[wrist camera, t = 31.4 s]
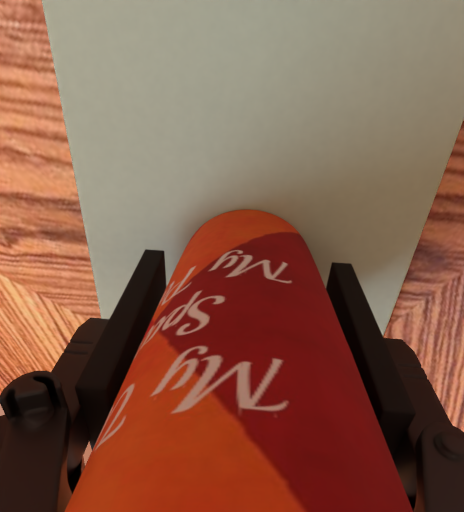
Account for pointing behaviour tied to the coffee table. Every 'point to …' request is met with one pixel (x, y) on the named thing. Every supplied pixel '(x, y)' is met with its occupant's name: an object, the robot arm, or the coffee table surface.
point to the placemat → (259, 125)
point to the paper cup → (242, 391)
